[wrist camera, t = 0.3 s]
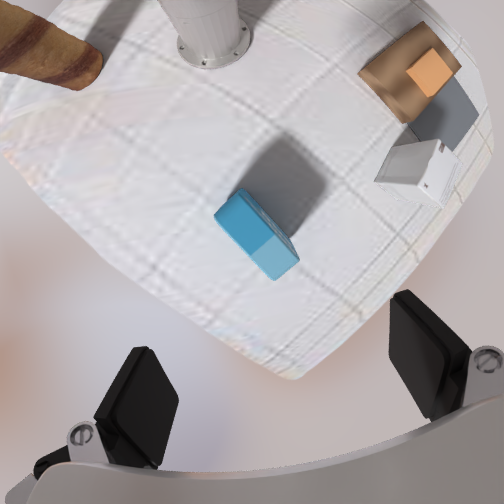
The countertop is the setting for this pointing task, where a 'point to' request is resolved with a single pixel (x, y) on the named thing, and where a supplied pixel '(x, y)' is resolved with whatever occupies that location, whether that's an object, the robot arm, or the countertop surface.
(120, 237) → the countertop surface
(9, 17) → the brown wooden post
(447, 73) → the tan foam pad
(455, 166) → the skincare box
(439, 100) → the mat
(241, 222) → the data package
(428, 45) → the brown wooden block
